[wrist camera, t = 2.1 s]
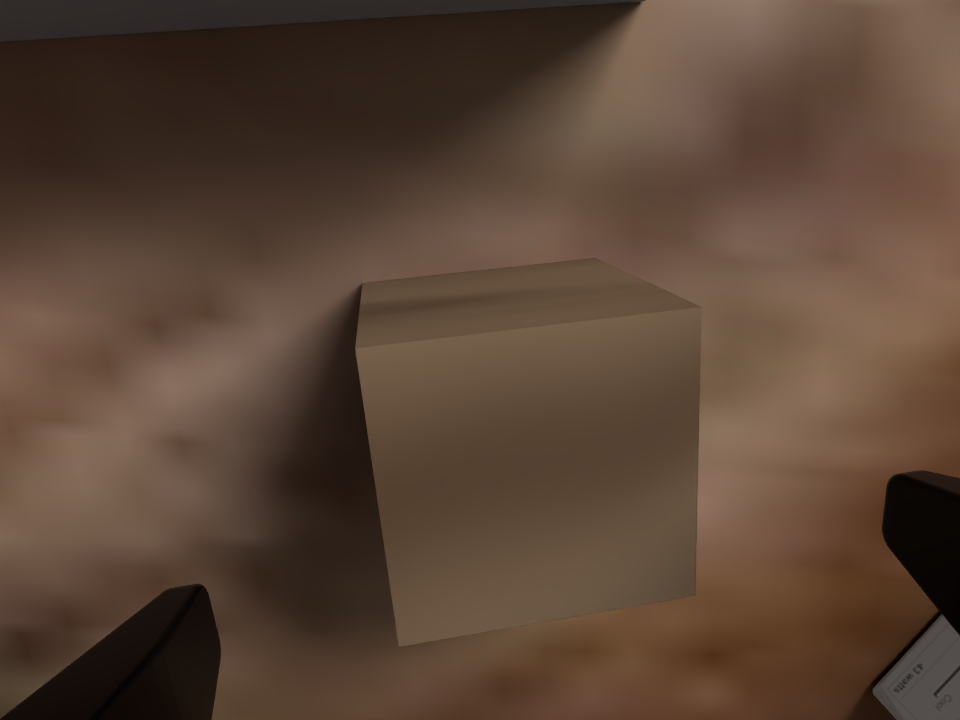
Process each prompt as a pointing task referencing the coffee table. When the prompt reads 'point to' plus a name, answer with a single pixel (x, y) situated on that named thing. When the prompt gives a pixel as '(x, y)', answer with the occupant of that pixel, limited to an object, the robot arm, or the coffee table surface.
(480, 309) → the walnut cube
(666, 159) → the coffee table surface
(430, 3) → the box
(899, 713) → the light bulb box
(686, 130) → the coffee table surface
